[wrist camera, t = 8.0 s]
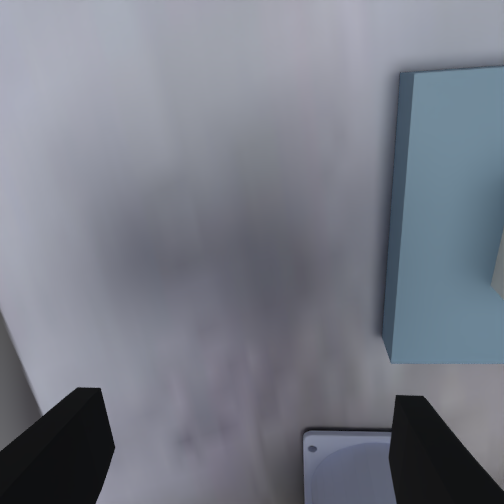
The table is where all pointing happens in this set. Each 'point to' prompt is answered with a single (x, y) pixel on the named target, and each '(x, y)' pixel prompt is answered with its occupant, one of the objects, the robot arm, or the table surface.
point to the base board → (446, 219)
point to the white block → (499, 270)
